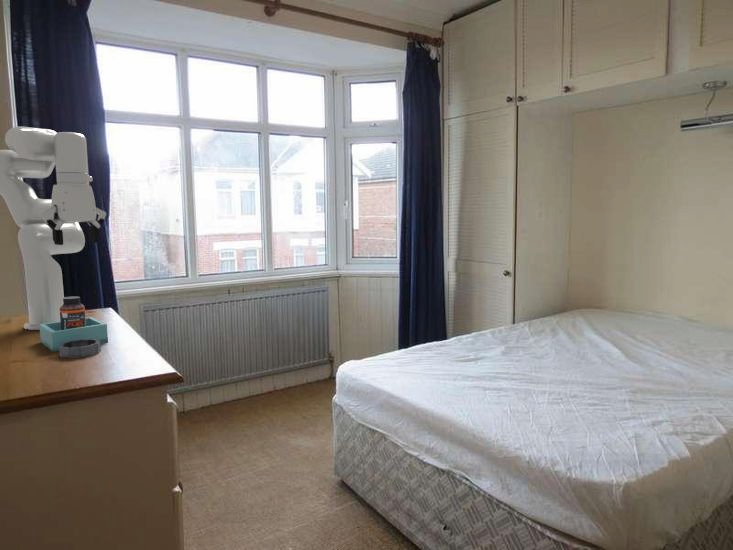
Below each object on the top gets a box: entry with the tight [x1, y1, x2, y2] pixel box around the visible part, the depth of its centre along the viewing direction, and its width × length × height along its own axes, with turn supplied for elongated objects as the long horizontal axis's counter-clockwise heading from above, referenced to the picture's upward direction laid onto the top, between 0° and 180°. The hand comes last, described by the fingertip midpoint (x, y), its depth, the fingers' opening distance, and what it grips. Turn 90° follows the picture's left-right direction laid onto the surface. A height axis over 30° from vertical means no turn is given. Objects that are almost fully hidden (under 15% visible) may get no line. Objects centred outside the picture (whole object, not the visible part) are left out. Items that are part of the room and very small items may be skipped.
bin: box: [39, 316, 109, 352], centre depth 137 cm, size 13×13×5 cm
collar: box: [58, 339, 102, 359], centre depth 127 cm, size 9×9×2 cm
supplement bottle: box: [60, 295, 86, 330], centre depth 137 cm, size 6×6×11 cm
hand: (77, 243), depth 139 cm, fingers open, 9 cm apart
